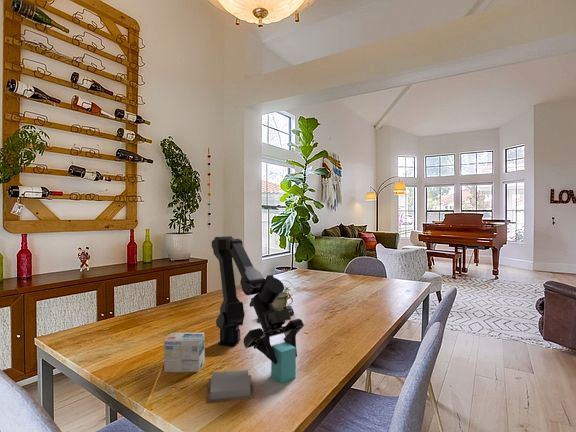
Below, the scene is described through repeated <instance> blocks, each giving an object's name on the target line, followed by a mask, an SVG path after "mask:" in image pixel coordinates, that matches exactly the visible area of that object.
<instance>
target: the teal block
mask: <svg viewBox="0 0 576 432" xmlns="http://www.w3.org/2000/svg"><path fill="white" fill-rule="evenodd" d="M271 347H272V349H273V351H274V354H275V356H276V359H277V364H274V363H273V362H272V361H271V360H270V361H271V362H270V365H271V367H270V371H271V372H270V373H271V374H270V376H271V377H272V378H273V379H275V380H276V381H278V383H280V384H284V383H287V382H290V381H291V380H295V379H296V377H297V374H296V373H297V372H296V369H297V366H296V363H297V361H296V360H297V357H296V349H297V346H296V347H294V346H292V345H290V344H288V343H287V342H285V341H284V342H280V343H276V344H274V345H271Z"/></svg>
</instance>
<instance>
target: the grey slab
mask: <svg viewBox="0 0 576 432" xmlns="http://www.w3.org/2000/svg"><path fill="white" fill-rule="evenodd" d="M249 375H250V374H249V369H240V370H225V371H214V372H211V378H212V380H211V390H210V400H213V399H224V398H235V397H246V396H250V383H249Z"/></svg>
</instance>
